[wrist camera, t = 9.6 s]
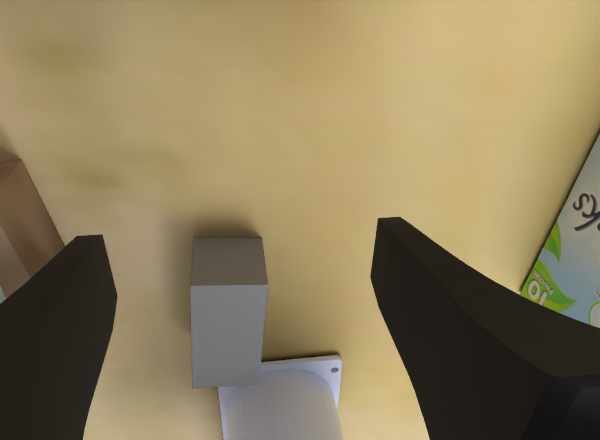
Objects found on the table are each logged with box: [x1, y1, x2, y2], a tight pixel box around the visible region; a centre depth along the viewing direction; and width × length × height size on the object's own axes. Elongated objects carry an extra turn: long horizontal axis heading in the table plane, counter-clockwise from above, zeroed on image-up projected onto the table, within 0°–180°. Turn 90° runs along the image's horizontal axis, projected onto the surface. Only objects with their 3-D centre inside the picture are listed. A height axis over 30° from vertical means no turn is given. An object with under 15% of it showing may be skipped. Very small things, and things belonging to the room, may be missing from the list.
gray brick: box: [190, 237, 268, 388], centre depth 25 cm, size 7×4×4 cm, turn 174°
